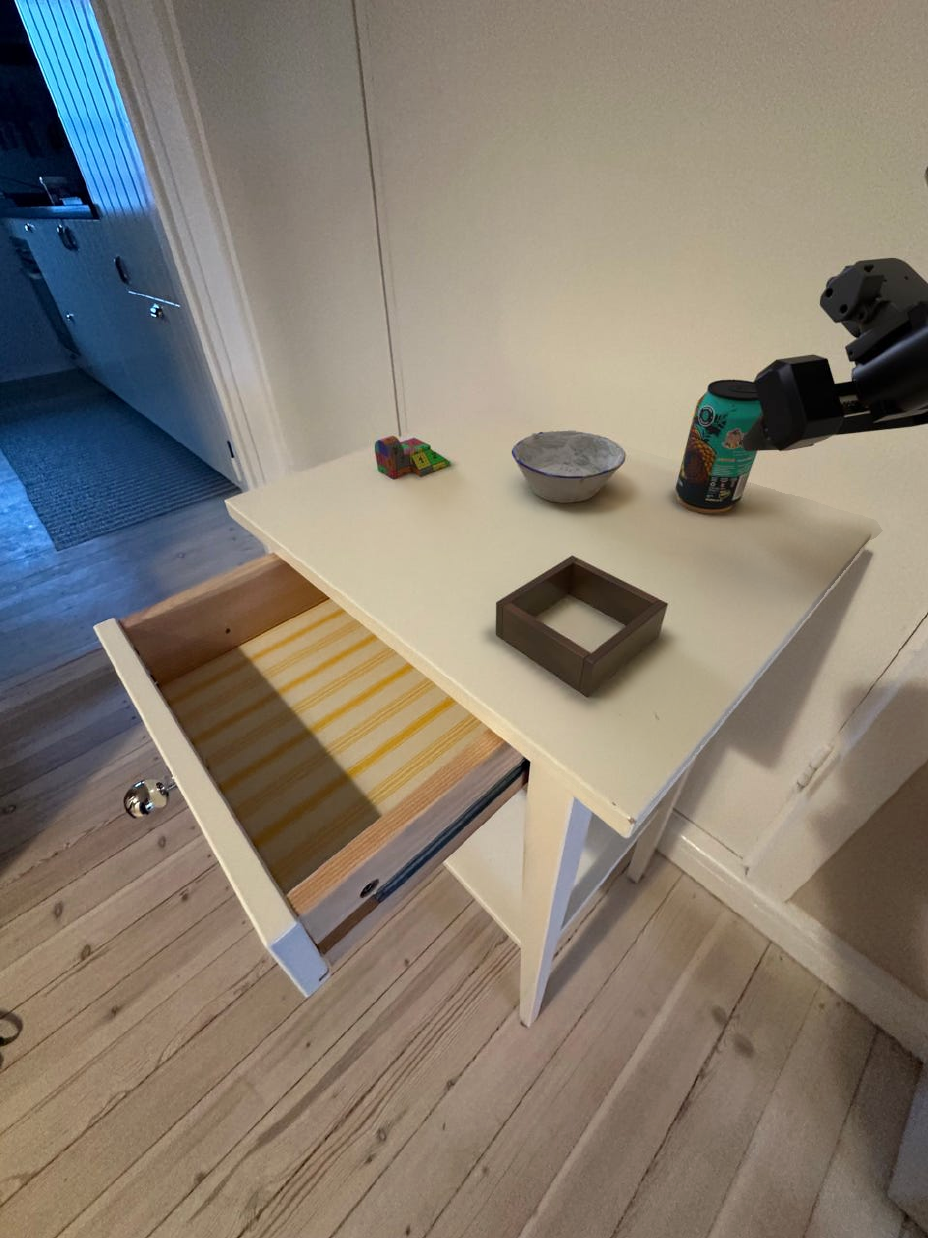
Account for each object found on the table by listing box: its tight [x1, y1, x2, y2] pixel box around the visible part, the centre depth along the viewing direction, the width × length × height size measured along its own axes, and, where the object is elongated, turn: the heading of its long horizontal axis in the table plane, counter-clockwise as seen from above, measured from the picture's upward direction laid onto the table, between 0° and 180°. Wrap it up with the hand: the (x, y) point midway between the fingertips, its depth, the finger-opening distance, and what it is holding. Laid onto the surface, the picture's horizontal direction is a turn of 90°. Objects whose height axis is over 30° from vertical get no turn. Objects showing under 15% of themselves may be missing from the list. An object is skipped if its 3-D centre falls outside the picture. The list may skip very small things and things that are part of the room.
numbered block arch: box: [374, 435, 451, 480], centre depth 68 cm, size 8×5×4 cm
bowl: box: [511, 429, 627, 504], centre depth 63 cm, size 13×13×5 cm
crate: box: [495, 554, 669, 697], centre depth 43 cm, size 10×10×4 cm
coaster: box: [676, 493, 733, 514], centre depth 61 cm, size 6×6×1 cm
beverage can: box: [675, 379, 762, 510], centre depth 56 cm, size 7×7×12 cm
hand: (785, 437), depth 49 cm, fingers open, 9 cm apart
